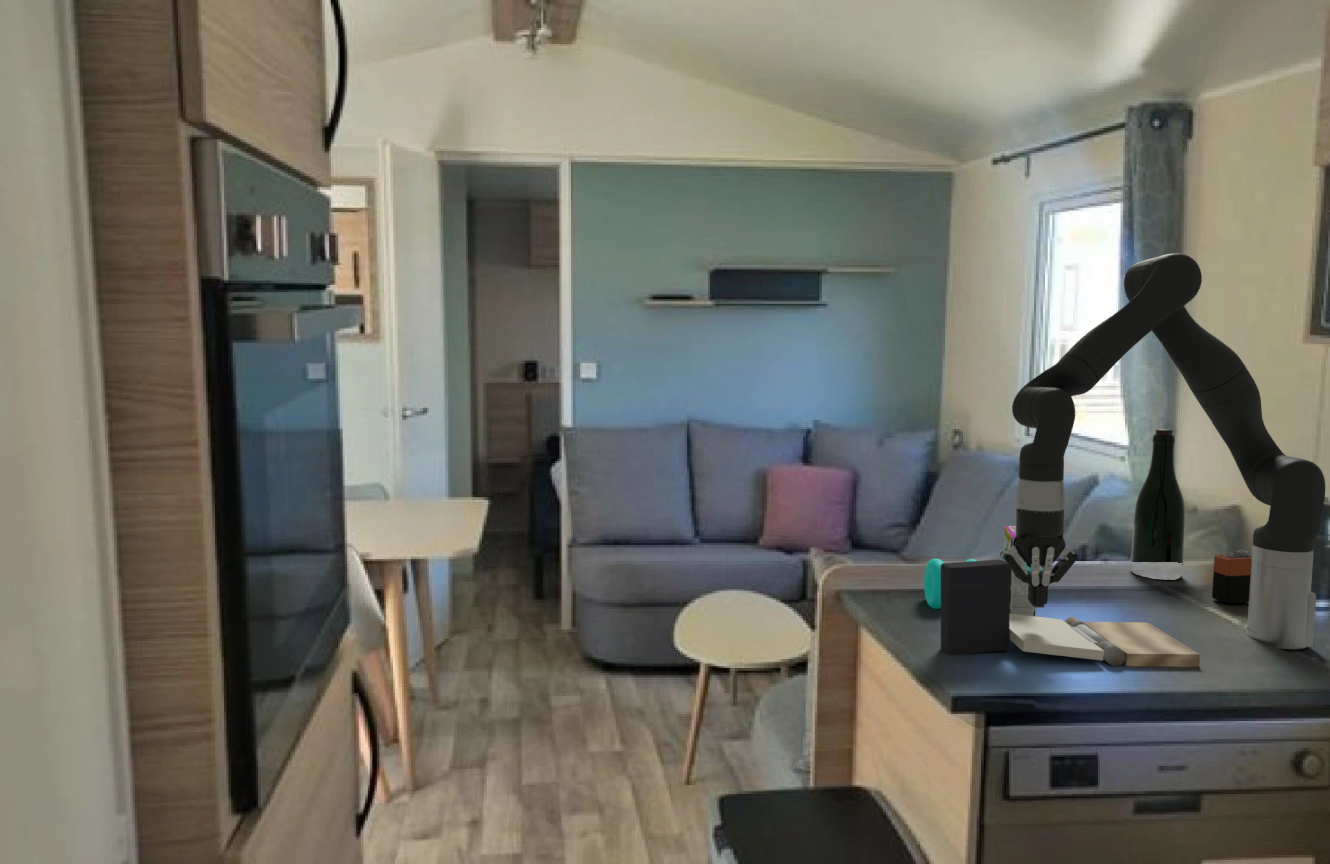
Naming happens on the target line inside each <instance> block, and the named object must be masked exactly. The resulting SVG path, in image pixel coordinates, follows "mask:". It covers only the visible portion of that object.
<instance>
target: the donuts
mask: <svg viewBox="0 0 1330 864" xmlns="http://www.w3.org/2000/svg"><path fill="white" fill-rule="evenodd" d="M970 561H978V560H977V559H975V558H969V559H967V560H965V561H964V562H970ZM943 563H945V562H944V560H942V559H939V558H932V559H930V560H929V561H928V562H927V564H926V566H925V570H924V575H923V576H924V577H923V580H924V581H923V585H924V586H923V587H924V590H923V591H924V596H925V600H926V603H927V605H928V606H929V607H930V608H932V609H935V610H941V564H943Z"/></svg>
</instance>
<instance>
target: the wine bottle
mask: <svg viewBox="0 0 1330 864" xmlns="http://www.w3.org/2000/svg"><path fill="white" fill-rule="evenodd" d="M1173 432H1174V431H1173V429H1170V428H1157V429H1155V434H1153V437H1152V454H1151V460H1150V466H1149V471H1148V473H1147V476H1146V478H1145V480H1144V483H1143V484H1142V487H1141V489H1140V491H1139V493H1138V495H1137V499H1136V502H1135V503H1136V504H1135V508H1134V509H1135V510H1134V517H1133V519H1134V520H1133V528H1132V529H1133V530H1132V543H1131V558H1130V563H1131V562H1178V563H1183V564H1184V560H1185V558H1184V557H1185V531H1186V530H1185V527H1186V510H1185V509H1186V508H1185V501H1184V500H1185V499H1184V497H1183V493H1182V491H1181V488H1180V485H1179V483H1178V480H1177V475H1176V471H1175V457H1174V455H1175V454H1174V453H1175V443H1176V439H1175V435H1174V434H1173Z"/></svg>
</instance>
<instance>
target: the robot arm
mask: <svg viewBox="0 0 1330 864" xmlns="http://www.w3.org/2000/svg"><path fill="white" fill-rule="evenodd" d="M1202 279H1203V276H1202V270H1201V268H1200V266H1199V264H1198V262H1197V261H1196V260H1195V259H1194V258H1192V257H1191V256H1189V255H1186V254H1184V253H1178V252H1177V253H1167V254H1162V255H1159V256H1155V257H1153V258H1148V259H1145V260H1142V261H1139V262H1136V263H1134V264H1132V265H1131V266H1129V268H1128V269H1127V271H1126V273H1125V276H1124V280H1123V288H1124V289H1123V290H1124V292H1125V295H1126V298H1127V300H1128V302H1127V303H1126V304H1124V306H1123V307H1121V308H1120V309H1119V310H1118V311H1116V312H1115V313H1114V314H1113V315H1111V316H1109V317H1108V318H1106V319H1105V320H1103V321H1102V322H1101V323H1099V324H1098V325H1096V326H1095V327H1093V328H1092V329H1090V330H1089V332H1087V333H1085V334H1084V336H1082V337H1081V338H1080V339H1079V340H1077V342H1075V344H1074V345H1072V346H1071V348H1070V349H1069V350H1068V351H1067V352H1066V353H1065V354H1064V355H1063V356H1062V357H1061V358H1060V359H1059V360H1058V361H1057V363H1055V364H1054V365H1052V366H1050V367H1049V368H1047V369H1045V370H1044V371H1043V372H1040V374H1038V375H1036V376H1035V377H1034V378H1033V379H1031V380H1030V381H1029V382H1027V383H1025V385H1023V386H1022V387H1021V388H1020V390H1019V391H1018V392H1017V394H1016V395H1015V397H1014V399H1013V401H1012V405H1011V407H1012V408H1011V412H1012V416H1013V418H1014V420H1015V421H1016V422H1017V423H1018V424H1019V425H1021V426H1024V427H1027V428H1029V429H1030V428H1031V429H1036V430H1035V433H1034V438H1033V441H1032V442H1029V443H1026V444H1024V445H1023V446H1022V447H1021V449H1020V453H1019V461H1018V462H1019V464H1018V465H1019V466H1018V467H1019V468H1018V483H1017V489H1016V514H1015V526H1016V537H1015V539H1014V541H1013V546H1012V547H1011V548H1009V549H1008V550H1007V551H1003V550H1001V551H1000V552H999V556H1000V557H1001V560H1002V561H1003V560H1004V561H1005V562H1007V563H1009V564H1011V567H1012V572H1013V573H1014V574H1015V575H1016V577H1017V578H1018V579H1019V580H1021V581H1022V582H1024V583H1028V601H1029V602H1030V603H1031V605H1032V606H1033V607H1035V609H1037V608H1039V609H1040V608H1042V609H1043V608H1045V605H1047V603H1048V598H1049V596H1048V595H1049V594H1048V593H1049V586H1050V585H1051V584H1053V583H1059V582H1060V581H1061V580H1062V579H1063V578H1064V576H1065V575H1066V574H1067V573H1068V571H1070V569H1071V568H1072V566H1073V565H1074V563H1076V561H1077V560H1078V559H1079V554H1078V553H1076V552H1074V551H1073V550H1070V549H1069V548H1068V547H1066V545H1067V544H1066V541H1065V539H1064V527H1065V526H1064V525H1065V524H1064V523H1065V506H1066V500H1065V496H1066V495H1065V494H1066V493H1065V485H1064V482H1065V481H1064V473H1065V454H1066V450H1067V448H1068V445H1069V441H1070V438H1071V435H1072V431H1073V428H1074V425H1075V419H1076V406H1075V403H1074V400H1073V398H1072V397H1075V396H1080V395H1085V394H1086V393H1088V392H1090V391H1091V390H1092V389H1093V388H1094V387H1095V386H1096V385H1097V384H1098V383H1099V382H1100V380H1102V379H1103V377H1105V375H1106V374H1108V373H1109V372H1110V370H1111V369H1112V368H1113V367H1114V366H1116V364H1118V362H1119V361H1120V360H1121V359H1122V358H1123V357H1124V356H1125V355H1126V354H1127V353H1128V352H1129V351H1130V350H1131V349H1133V347H1135V345H1137V344H1138V343H1139V342H1140V341H1141V340H1142V339H1143V338H1145V337H1146V336H1147V335H1148V334H1149V333H1151V332H1152V333H1153V335H1155V337H1156V339H1158V341H1159V342H1160V343H1161V345H1162V347H1163V348H1164V349H1165V352H1166V353H1167V354H1168V356H1169V357H1170V359H1171V361H1172V362H1173V363H1174V365H1175V366H1176V368H1177V369H1178V371H1179V373H1180V374H1181V375H1182V377H1183V379H1184V381H1185V382H1186V385H1187V386H1188V387H1189V390H1190V391H1191V393H1192V394H1193V395H1194V397H1195V399H1196V400H1197V402H1198V403H1199V405H1200V406H1201V408H1202V410H1203V411H1204V412H1205V414H1206V416H1207V417H1208V418H1209V421H1210V422H1211V424H1212V425H1213V426H1214V428H1215V429H1216V431H1217V433H1218V434H1219V436H1220V438H1222V440H1223V442H1224V443H1225V444H1226V446H1227V448H1228V450H1229V452H1230V454H1231V456H1232V457H1233V459H1234V462H1235V463H1236V466H1237V469H1238V470H1239V472H1240V474H1241V477H1242V479H1243V481H1244V482H1245V485H1246V486H1247V487H1246V488H1248V490H1249V492H1250V493H1251V495H1252V496H1253V497H1255V499H1256V500H1257V501H1259V502H1261V503H1262V504H1264V505H1267V506H1270V507H1269V512H1268V513H1269V515H1268V520H1267V522H1266V524H1264V525H1261V526H1258V527H1256V528H1254V531H1253V534H1252V544H1251V545H1252V547H1251V548H1252V549H1251V556H1252V561H1251V577H1250V592H1249V602H1248V610H1247V611H1248V612H1247V623H1246V625H1247V626H1246V634H1247V636H1248V637H1250V638H1252V639H1255V640H1258V641H1262V642H1265V643H1267V644H1270V645H1271V646H1274V647H1275V648H1277V649H1283V650H1301V649H1305V648H1308V647H1309V648H1311V647H1312V648H1313V645H1314V630H1315V619H1316V618H1315V615H1316V603H1317V595H1316V593H1315V592H1312V580H1313V579H1312V577H1313V564H1314V563H1313V562H1314V549H1315V542H1316V540H1317V538H1318V536H1319V534H1320V532H1321V528H1322V523H1323V522H1322V521H1323V515H1324V507H1325V500H1326V498H1325V497H1326V480H1325V476H1324V473H1323V471H1322V469H1321V468H1320V467H1319V466H1318V465H1317V464H1316V463H1315V462H1312V461H1310V460H1307V459H1303V458H1299V457H1293V456H1289V455H1286V454H1285V453H1284V452H1283V451H1282V449H1280V447H1279V446H1278V445H1277V443H1276V442H1275V441H1274V439H1273V437H1272V436H1271V435H1270V433H1269V431H1268V430H1267V427H1266V425H1265V423H1264V419H1263V410H1262V408H1263V407H1262V400H1261V394H1260V389H1259V387H1258V385H1257V383H1256V381H1255V379H1254V377H1253V376H1252V374H1251V372H1249V370H1248V368H1247V367H1246V364H1244V361H1243V360H1242V359H1241V358H1240V356H1239V355H1238V353H1236V352H1235V351H1234V350H1233V349H1232V348H1231V347H1229V346H1228V345H1227V344H1225V343H1224V342H1223V341H1222V340H1220V339H1219V338H1217V337H1216V336H1215V335H1213V334H1212V333H1210V332H1209V331H1207V330H1206V329H1205V328H1203V327H1202V326H1201V324H1199V323H1198V322H1197V321H1196V320H1195V319H1194V318H1193V317H1192V315H1191V314H1190V313H1189V311H1188V309H1186V307H1185V306H1186V305H1187V304H1189V303H1190V302H1191V301H1193V299H1194V298H1195V297H1196V296H1197V295H1198V293H1199V290H1200V288H1201V287H1202V283H1203V282H1202V281H1203V280H1202ZM1017 553H1018V554H1019V555H1020V557H1021V558H1022V560H1023V561H1024V562H1025V567H1026V570H1027V574H1025V572H1024V571H1023V570H1022V569H1021V567H1020V566H1019V565H1018V563H1017V562H1016V560H1017V559H1018V557H1017ZM1058 558H1060V559H1058ZM1056 560H1058V561H1057V563H1055V562H1056ZM1054 563H1055V565H1054V566H1053V564H1054Z"/></svg>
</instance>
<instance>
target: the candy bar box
mask: <svg viewBox="0 0 1330 864" xmlns="http://www.w3.org/2000/svg"><path fill="white" fill-rule="evenodd" d="M1015 537H1016V525H1013V526H1012V525H1004V526H1003V546H1002V547H1003V550H1002V551H1007V550H1008V549H1009V548H1011V547H1012V546H1013V541H1014V539H1015ZM1017 557H1018V559H1017V560H1016V562H1017V563H1018V565H1019V566H1020V567H1021V569H1022V570H1023V571H1024V572H1025V574H1027V570H1026V567H1025V562H1024V561H1023V560H1022V558H1021V557H1020V555H1019V554H1018V553H1017ZM1002 561H1004V560H1003V559H1002ZM1004 562H1005V561H1004ZM1009 613H1010V614H1019V615H1027V616H1036V608H1035V607H1033V606H1032V605H1031V603H1030V602H1029V601H1028V583H1024V582H1022V581H1021V580H1019V579H1018V578H1017V577H1016V575H1015V574H1014V573H1013V572H1011V588H1010V612H1009Z"/></svg>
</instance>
